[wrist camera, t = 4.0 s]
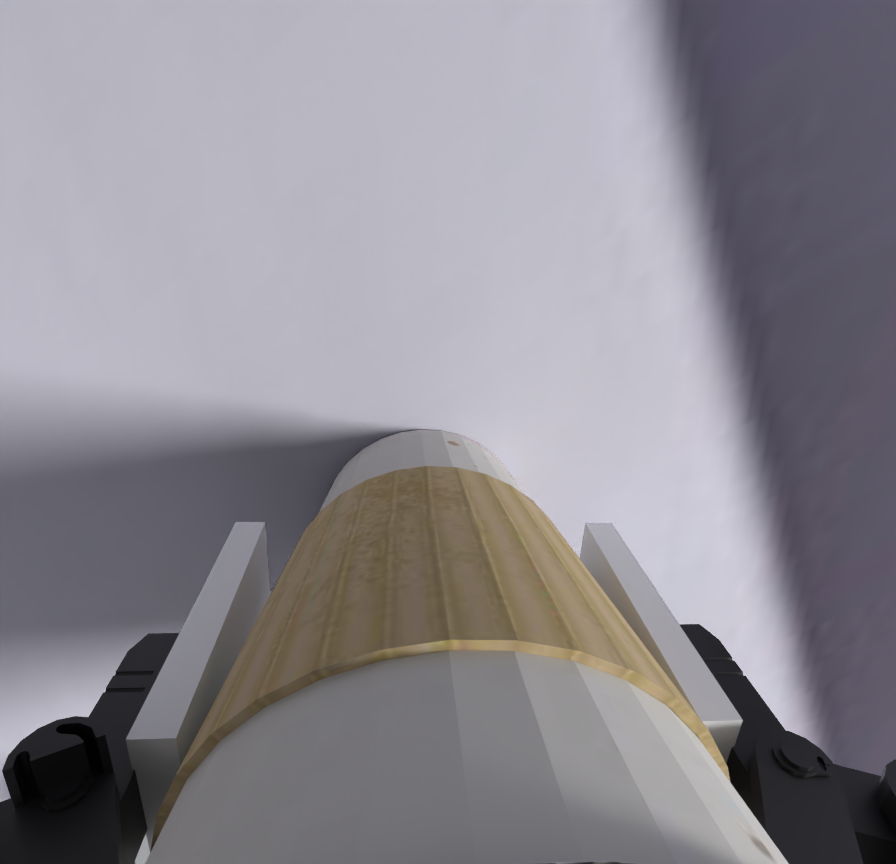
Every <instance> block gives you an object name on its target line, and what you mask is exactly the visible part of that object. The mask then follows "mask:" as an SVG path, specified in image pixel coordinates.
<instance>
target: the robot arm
mask: <svg viewBox="0 0 896 864" xmlns="http://www.w3.org/2000/svg"><path fill="white" fill-rule="evenodd" d="M580 560H581V561H582V563H583V564H584V565H585V567H586V568H587V569H588V571H589V572H590V573H591V575H592V576H593V577H594V579H595V580H596V581H597V583H598V584H599V585H600V587H601V588H602V589H603V591H604V592H605V593H606V595H607V596H608V597H609V599H610V600H611V601H612V603H613V604H614V605H615V607H616V608H617V609H618V611H619V612H620V613H621V615H622V616H623V617H624V619H625V620H626V621H627V623H628V624H629V625H630V627H631V628H632V629H633V631H634V632H635V633H636V635H637V636H638V637H639V639H640V640H641V641H642V642H643V644H644V645H645V646H646V648H647V649H648V650H649V652H650V653H651V654H652V656H653V657H654V658H655V660H656V661H657V662H658V664H659V665H660V666H661V668H662V669H663V670H664V672H665V673H666V674H667V676H668V677H669V678H670V680H671V681H672V682H673V684H674V685H675V686H676V688H677V689H678V690H679V692H680V693H681V694H682V696H683V697H684V698H685V700H686V701H687V702H688V704H689V705H690V706H691V708H692V709H693V710H694V712H695V713H696V714H697V716H698V717H699V718H700V720H701V721H702V722H703V724H704V725H705V726H706V728H707V729H708V730H709V732H710V734H711V736H712V737H713V739H714V741H715V743H716V745H717V747H718V749H719V751H720V753H721V755H722V757H723V759H724V761H725V763H726V765H727V766H728V771H729V777H730V783H731V784H732V785H733V787H734V788H735V790H736V791H737V792H738V794H739V795H740V797H741V798H742V799H743V801H744V802H745V804H746V805H747V806H748V808H749V809H750V810H751V812H752V813H753V815H754V816H755V817H756V819H757V820H758V822H759V823H760V824H761V826H762V827H763V829H764V830H765V831H766V833H767V834H768V836H769V837H770V838H771V840H772V841H773V842H774V844H775V845H776V847H777V848H778V849H779V851H780V852H781V854H782V855H783V856H784V858H785V859H786V861H787V862H788V863H789V864H896V760H893V761H892V762H890V763H889V764H887V765H886V767H885V769H884V771H883V773H882V775H881V776H878V775H874V774H870V773H866V772H862V771H858V770H854V769H850V768H846V767H842V766H839V765H836V764H833V763H832V761H831V760H830V759H829V758H828V757H827V756H826V755H825V753H824V752H823V751H822V750H821V749H820V748H818V747H817V746H816V745H814V744H813V743H811V742H810V741H808V740H807V739H806V738H803V737H801V736H799V735H797V734H794V733H792V732H789V731H786V730H785V729H784V728H783V727H782V725H781V724H780V722H779V721H778V720H777V718H776V717H775V716H774V714H773V713H772V711H771V710H770V709H769V707H768V706H767V705H766V703H765V702H764V701H763V699H762V698H761V696H760V695H759V694H758V692H757V691H756V690H755V688H754V687H753V686H752V684H751V683H750V681H749V680H748V679H747V677H746V676H743V672H742V671H741V669H740V668H739V666H738V665H737V664H736V662H735V661H732V657H731V656H730V654H729V653H728V651H727V650H726V649H725V647H724V646H723V645H722V643H721V642H720V641H719V639H717V638H716V637H715V636H713V635H712V634H711V633H710V632H708V631H707V630H706V629H705V628H703V627H702V626H701V625H699V624H686V625H679V623H678V622H677V620H676V619H675V617H674V616H673V614H672V613H671V611H670V610H669V608H668V607H667V605H666V604H665V602H664V601H663V599H662V598H661V596H660V595H659V593H658V592H657V590H656V589H655V587H654V586H653V584H652V583H651V581H650V580H649V578H648V577H647V575H646V574H645V572H644V571H643V569H642V568H641V566H640V565H639V563H638V562H637V560H636V559H635V557H634V556H633V554H632V553H631V551H630V550H629V548H628V547H627V545H626V544H625V542H624V541H623V539H622V538H621V536H620V535H619V533H618V532H617V530H616V529H615V527H614V526H613V524H612V523H585V529H584V535H583V541H582V548H581V554H580ZM270 595H271V592H270V579H269V566H268V552H267V539H266V526H265V522H235V524H234V526H233V528H232V530H231V532H230V534H229V536H228V538H227V540H226V542H225V544H224V546H223V548H222V550H221V552H220V554H219V556H218V558H217V560H216V562H215V564H214V566H213V568H212V570H211V572H210V574H209V576H208V578H207V580H206V582H205V584H204V586H203V588H202V589H201V591H200V593H199V595H198V597H197V599H196V601H195V603H194V605H193V607H192V609H191V611H190V613H189V615H188V617H187V619H186V621H185V623H184V625H183V627H182V629H181V631H180V633H162V634H148V635H147V636H145V637H144V638H143V639H142V640H141V641H140V642H138V643H137V644H136V645H135V646H134V647H133V648H131V649H130V650H129V651H128V652H127V654H126V656H125V657H124V659H123V661H122V662H121V664H120V666H119V667H118V669H117V671H116V675H115V676H113V677H112V679H111V681H110V682H109V684H108V686H107V687H106V692H105V693H103V694H102V696H101V697H100V699H99V701H98V702H97V704H96V706H95V707H94V709H93V711H92V712H91V714H90V716H89V717H77V716H75V717H70V718H65V719H60V720H56V721H54V722H52V723H50V724H47V725H45V726H43V727H41V728H39V729H37V730H36V731H34V732H33V733H31V734H30V735H29V736H27V737H26V738H25V739H23V740H22V741H21V742H20V743H19V744H18V745H17V746H16V747H15V749H14V750H13V751H12V752H11V753H10V754H9V755H8V757H7V760H6V762H5V765H4V767H3V770H2V772H3V775H4V778H5V781H6V784H7V787H8V790H9V793H10V796H11V798H10V799H8V800H5V801H3V802H0V864H135V859H136V857H137V854H138V852H139V849H140V846H141V844H142V841H143V839H144V836H145V834H146V837H147V841H148V846H149V851H151V844H152V838H153V831H154V825H155V819H156V815H157V813H158V811H159V809H160V807H161V805H162V803H163V801H164V799H165V797H166V794H167V792H168V790H169V788H170V786H171V784H172V782H173V780H174V778H175V776H176V774H177V772H178V770H179V768H180V766H181V764H182V762H183V760H184V759H185V757H186V755H187V753H188V751H189V749H190V747H191V745H192V743H193V741H194V739H195V738H196V736H197V734H198V732H199V730H200V728H201V726H202V724H203V722H204V720H205V719H206V717H207V715H208V713H209V711H210V709H211V707H212V705H213V703H214V701H215V699H216V698H217V696H218V694H219V692H220V690H221V688H222V686H223V684H224V682H225V680H226V678H227V677H228V675H229V673H230V671H231V669H232V667H233V665H234V663H235V661H236V659H237V657H238V656H239V654H240V652H241V650H242V648H243V646H244V644H245V642H246V640H247V638H248V636H249V635H250V633H251V631H252V629H253V627H254V625H255V623H256V621H257V619H258V617H259V616H260V614H261V612H262V610H263V608H264V606H265V604H266V602H267V600H268V598H269V596H270Z"/></svg>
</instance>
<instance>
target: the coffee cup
mask: <svg viewBox="0 0 896 864" xmlns="http://www.w3.org/2000/svg"><path fill="white" fill-rule="evenodd" d="M145 864H789V863H788V862H787V861H786V859H785V858H784V856H783V855H782V854H781V852H780V851H779V849H778V848H777V847H776V845H775V844H774V842H773V841H772V840H771V838H770V837H769V836H768V834H767V833H766V831H765V830H764V829H763V827H762V826H761V824H760V823H759V822H758V820H757V819H756V817H755V816H754V815H753V813H752V812H751V810H750V809H749V808H748V806H747V805H746V804H745V802H744V801H743V799H742V798H741V797H740V795H739V794H738V792H737V791H736V790H735V788H734V787H733V785H732V784H731V783H730V777H729V771H728V766H727V765H726V763H725V761H724V759H723V757H722V755H721V753H720V751H719V749H718V747H717V745H716V743H715V741H714V739H713V737H712V736H711V734H710V732H709V730H708V729H707V728H706V726H705V725H704V724H703V722H702V721H701V720H700V718H699V717H698V716H697V714H696V713H695V712H694V710H693V709H692V708H691V706H690V705H689V704H688V702H687V701H686V700H685V698H684V697H683V696H682V694H681V693H680V692H679V690H678V689H677V688H676V686H675V685H674V684H673V682H672V681H671V680H670V678H669V677H668V676H667V674H666V673H665V672H664V670H663V669H662V668H661V666H660V665H659V664H658V662H657V661H656V660H655V658H654V657H653V656H652V654H651V653H650V652H649V650H648V649H647V648H646V646H645V645H644V644H643V642H642V641H641V640H640V639H639V637H638V636H637V635H636V633H635V632H634V631H633V629H632V628H631V627H630V625H629V624H628V623H627V621H626V620H625V619H624V617H623V616H622V615H621V613H620V612H619V611H618V609H617V608H616V607H615V605H614V604H613V603H612V601H611V600H610V599H609V597H608V596H607V595H606V593H605V592H604V591H603V589H602V588H601V587H600V585H599V584H598V583H597V581H596V580H595V579H594V577H593V576H592V575H591V573H590V572H589V571H588V569H587V568H586V567H585V565H584V564H583V563H582V561H581V560H580V559H579V557H578V556H577V555H576V553H575V552H574V551H573V549H572V548H571V547H570V545H569V544H568V543H567V542H566V540H565V539H564V538H563V536H562V535H561V534H560V532H559V531H558V530H557V528H556V527H555V526H554V524H553V523H552V522H551V520H550V519H549V518H548V517H547V516H546V515H545V513H544V512H543V511H542V510H541V509H540V508H539V507H538V506H537V505H536V504H535V502H534V501H533V500H531V499H530V498H528V497H527V496H526V495H525V494H524V493H523V492H522V490H521V489H520V487H519V486H518V485H517V483H516V482H515V480H514V479H513V478H512V476H511V475H510V473H509V472H508V471H507V469H506V468H505V467H504V465H503V464H502V463H501V462H500V461H499V460H498V459H497V458H496V457H495V456H494V454H492V453H491V452H490V451H488V450H487V449H485V448H484V447H483V446H481V445H480V444H478V443H476V442H474V441H472V440H470V439H468V438H465V437H463V436H461V435H457V434H453V433H449V432H445V431H439V430H414V431H406V432H400V433H397V434H394V435H391V436H388V437H385V438H381V439H379V440H378V441H376V442H374V443H372V444H370V445H369V446H367V447H365V448H363V449H362V450H361V451H360V452H359V453H357V454H356V455H355V456H354V457H353V458H351V459H350V460H349V461H348V462H347V464H346V465H345V466H344V467H343V469H342V470H341V471H340V472H339V474H338V475H337V477H336V479H335V481H334V483H333V485H332V487H331V489H330V491H329V493H328V495H327V497H326V499H325V501H324V503H323V505H322V507H321V509H320V511H319V513H318V514H317V516H316V517H315V518H314V519H313V521H312V522H311V523H310V524H309V526H308V527H307V528H306V529H305V531H304V532H303V533H302V535H301V537H300V539H299V541H298V543H297V545H296V547H295V549H294V551H293V553H292V554H291V556H290V558H289V560H288V562H287V564H286V566H285V568H284V570H283V572H282V574H281V575H280V577H279V579H278V581H277V583H276V585H275V587H274V589H273V591H272V593H271V595H270V596H269V598H268V600H267V602H266V604H265V606H264V608H263V610H262V612H261V614H260V616H259V617H258V619H257V621H256V623H255V625H254V627H253V629H252V631H251V633H250V635H249V636H248V638H247V640H246V642H245V644H244V646H243V648H242V650H241V652H240V654H239V656H238V657H237V659H236V661H235V663H234V665H233V667H232V669H231V671H230V673H229V675H228V677H227V678H226V680H225V682H224V684H223V686H222V688H221V690H220V692H219V694H218V696H217V698H216V699H215V701H214V703H213V705H212V707H211V709H210V711H209V713H208V715H207V717H206V719H205V720H204V722H203V724H202V726H201V728H200V730H199V732H198V734H197V736H196V738H195V739H194V741H193V743H192V745H191V747H190V749H189V751H188V753H187V755H186V757H185V759H184V760H183V762H182V764H181V766H180V768H179V770H178V772H177V774H176V776H175V778H174V780H173V782H172V784H171V786H170V788H169V790H168V792H167V794H166V797H165V799H164V801H163V803H162V805H161V807H160V809H159V811H158V813H157V815H156V819H155V825H154V831H153V838H152V844H151V851H150V855H149V857H148V859H147V861H146V863H145Z"/></svg>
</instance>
